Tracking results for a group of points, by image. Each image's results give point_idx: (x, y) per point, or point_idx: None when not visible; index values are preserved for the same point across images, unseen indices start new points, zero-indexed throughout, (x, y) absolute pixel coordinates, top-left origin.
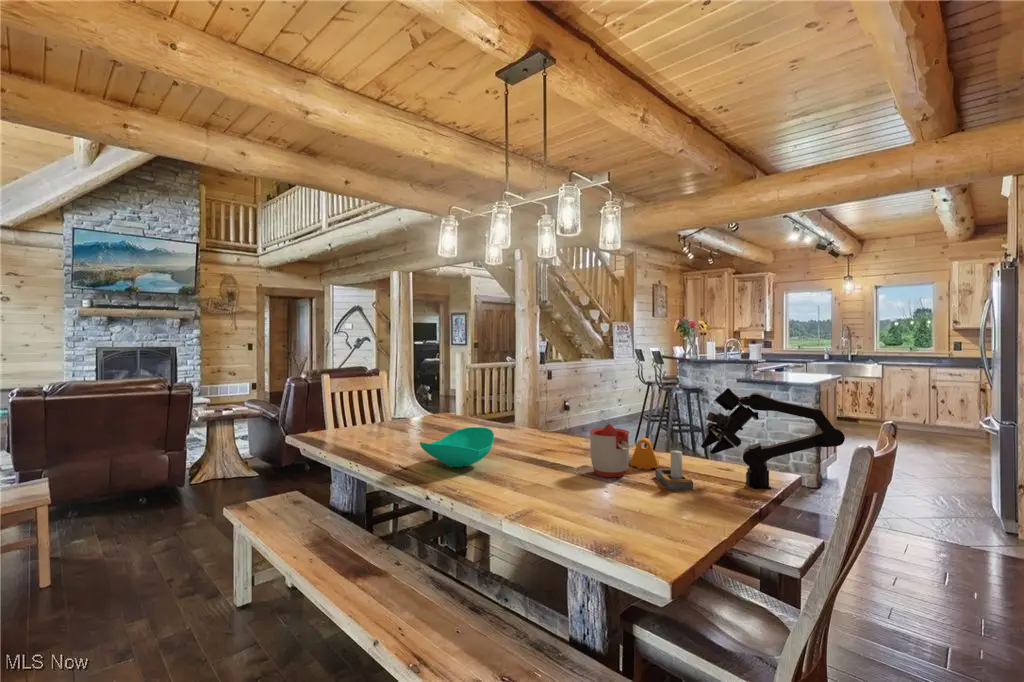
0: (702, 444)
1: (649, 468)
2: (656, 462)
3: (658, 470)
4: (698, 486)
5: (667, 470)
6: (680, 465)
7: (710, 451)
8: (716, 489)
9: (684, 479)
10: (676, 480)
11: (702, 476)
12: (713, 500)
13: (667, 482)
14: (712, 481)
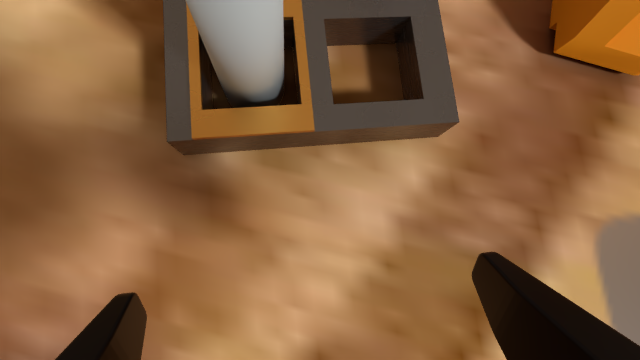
0: (504, 272)
1: (553, 18)
2: (580, 29)
3: (402, 2)
4: (262, 201)
5: (415, 53)
6: (197, 28)
7: (126, 297)
8: (211, 290)
9: (200, 96)
10: (190, 50)
11: (464, 273)
12: (6, 219)
13: (173, 3)
14: (369, 308)
